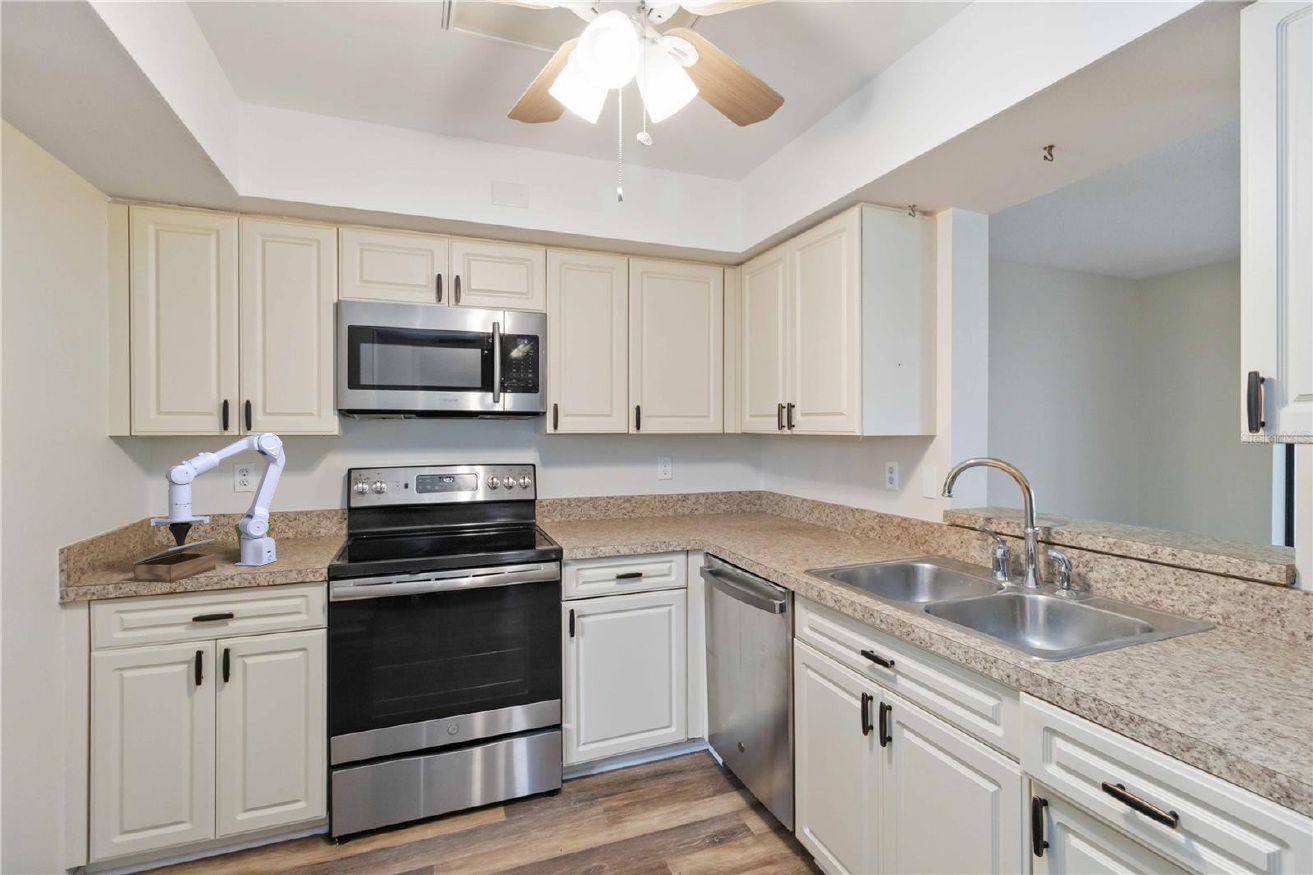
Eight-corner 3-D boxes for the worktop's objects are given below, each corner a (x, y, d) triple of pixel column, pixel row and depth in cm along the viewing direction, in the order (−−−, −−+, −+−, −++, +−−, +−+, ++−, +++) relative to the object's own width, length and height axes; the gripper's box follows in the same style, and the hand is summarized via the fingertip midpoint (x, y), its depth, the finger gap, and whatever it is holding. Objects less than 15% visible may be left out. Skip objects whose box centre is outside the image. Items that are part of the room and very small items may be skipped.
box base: (215, 569, 193) (215, 553, 193) (171, 582, 178) (170, 565, 177) (181, 568, 195) (181, 553, 194) (134, 581, 179) (133, 564, 179)
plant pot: (276, 555, 215) (276, 523, 214) (236, 560, 206) (236, 527, 206) (269, 550, 223) (268, 519, 223) (230, 554, 215) (229, 523, 215)
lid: (214, 540, 193) (213, 538, 194) (168, 550, 177) (167, 548, 177) (181, 552, 195) (180, 550, 195) (133, 564, 178) (132, 562, 178)
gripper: (212, 501, 193) (213, 543, 193) (157, 503, 188) (158, 546, 188) (204, 504, 186) (205, 547, 186) (147, 506, 181) (147, 550, 181)
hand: (180, 547), depth 187 cm, fingers closed, pressing on lid
